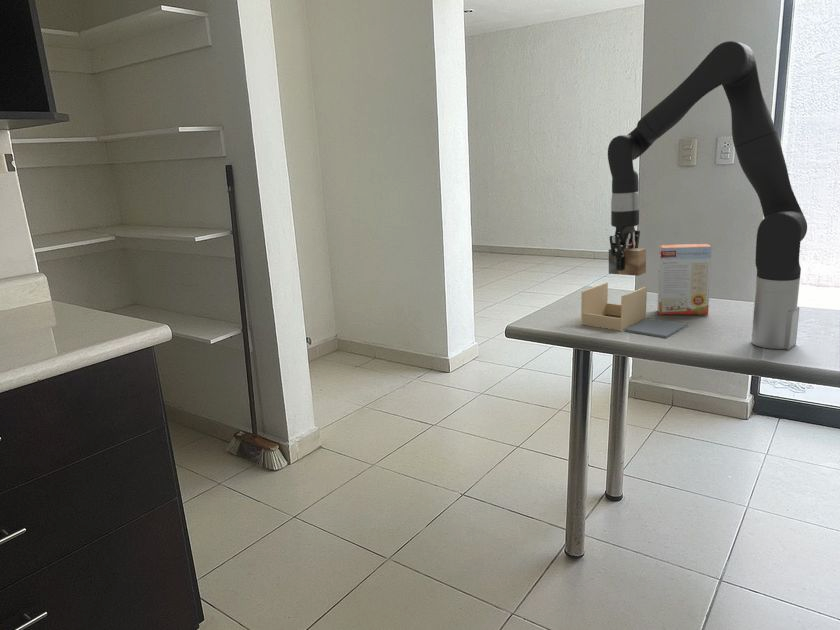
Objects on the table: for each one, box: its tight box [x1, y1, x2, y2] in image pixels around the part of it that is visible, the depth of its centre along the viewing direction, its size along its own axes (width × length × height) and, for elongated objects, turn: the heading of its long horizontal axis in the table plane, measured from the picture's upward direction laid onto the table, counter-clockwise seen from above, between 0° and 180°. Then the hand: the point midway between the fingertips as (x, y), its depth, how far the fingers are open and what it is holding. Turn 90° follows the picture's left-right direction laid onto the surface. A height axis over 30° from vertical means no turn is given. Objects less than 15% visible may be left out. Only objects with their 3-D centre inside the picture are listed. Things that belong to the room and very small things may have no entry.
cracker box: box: [657, 243, 712, 316], centre depth 183 cm, size 14×6×21 cm, turn 74°
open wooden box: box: [580, 281, 648, 332], centre depth 179 cm, size 13×15×10 cm
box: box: [608, 247, 647, 277], centre depth 173 cm, size 9×5×7 cm, turn 45°
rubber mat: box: [624, 317, 689, 339], centre depth 171 cm, size 12×14×1 cm
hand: (625, 268), depth 174 cm, fingers closed on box, 4 cm apart
